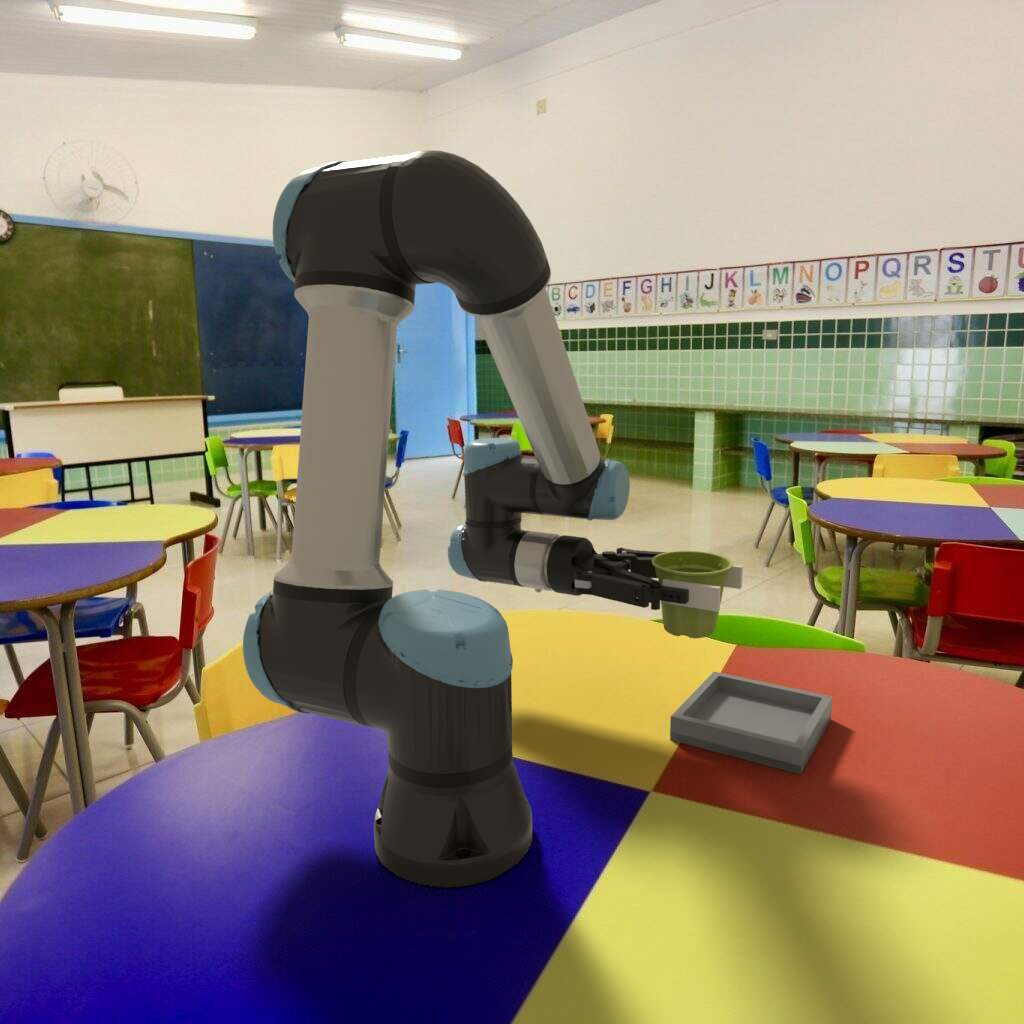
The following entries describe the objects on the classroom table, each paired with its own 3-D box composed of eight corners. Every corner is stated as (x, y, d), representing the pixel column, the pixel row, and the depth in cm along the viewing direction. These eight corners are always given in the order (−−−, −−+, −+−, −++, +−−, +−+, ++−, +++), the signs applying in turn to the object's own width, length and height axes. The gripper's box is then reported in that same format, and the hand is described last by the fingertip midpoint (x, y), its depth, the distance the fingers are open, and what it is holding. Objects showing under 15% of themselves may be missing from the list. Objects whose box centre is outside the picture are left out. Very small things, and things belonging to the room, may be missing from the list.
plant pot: (746, 636, 95) (750, 565, 93) (680, 650, 91) (682, 576, 89) (698, 612, 103) (700, 547, 102) (635, 624, 100) (636, 556, 98)
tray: (800, 774, 87) (802, 749, 87) (670, 739, 96) (670, 716, 95) (831, 719, 100) (832, 696, 99) (713, 692, 108) (713, 671, 107)
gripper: (592, 570, 115) (753, 593, 103) (516, 615, 97) (701, 649, 86) (592, 518, 113) (755, 536, 102) (515, 555, 95) (703, 581, 84)
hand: (730, 587), depth 94 cm, fingers closed on plant pot, 8 cm apart
